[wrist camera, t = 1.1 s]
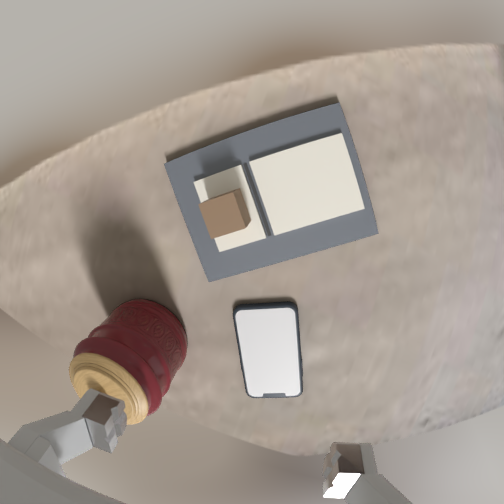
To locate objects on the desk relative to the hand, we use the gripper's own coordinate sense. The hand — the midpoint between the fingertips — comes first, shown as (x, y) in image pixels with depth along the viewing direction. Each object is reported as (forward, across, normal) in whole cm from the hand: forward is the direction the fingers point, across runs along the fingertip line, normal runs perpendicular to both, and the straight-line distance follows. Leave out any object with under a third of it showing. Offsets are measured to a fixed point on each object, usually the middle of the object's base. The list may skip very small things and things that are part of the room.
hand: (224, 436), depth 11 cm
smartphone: (+31, -3, +16) cm, 35 cm away
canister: (+31, +16, +18) cm, 40 cm away
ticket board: (+30, +1, -5) cm, 31 cm away
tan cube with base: (+29, +5, -3) cm, 30 cm away
